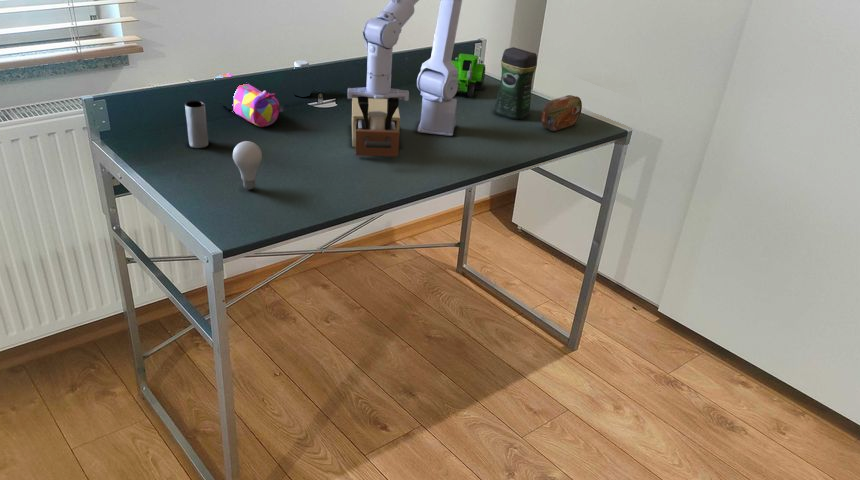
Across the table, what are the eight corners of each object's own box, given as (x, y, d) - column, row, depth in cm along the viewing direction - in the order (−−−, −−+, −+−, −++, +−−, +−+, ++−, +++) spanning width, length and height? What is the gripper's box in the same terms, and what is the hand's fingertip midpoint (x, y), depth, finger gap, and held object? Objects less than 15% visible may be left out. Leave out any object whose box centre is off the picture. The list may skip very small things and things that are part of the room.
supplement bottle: (306, 90, 215) (306, 58, 210) (314, 96, 212) (314, 63, 206) (289, 93, 213) (288, 60, 207) (297, 99, 209) (297, 65, 204)
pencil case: (286, 123, 193) (285, 90, 188) (257, 131, 187) (255, 97, 182) (237, 100, 205) (235, 68, 200) (208, 107, 199) (205, 74, 194)
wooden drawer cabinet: (398, 148, 185) (400, 117, 180) (352, 146, 183) (353, 116, 179) (394, 127, 196) (396, 98, 192) (351, 126, 195) (352, 96, 190)
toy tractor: (442, 96, 220) (445, 63, 214) (450, 79, 233) (453, 48, 228) (478, 100, 219) (482, 67, 213) (483, 84, 232) (487, 52, 227)
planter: (212, 143, 179) (208, 103, 173) (200, 149, 175) (196, 108, 170) (197, 139, 180) (193, 99, 175) (185, 145, 177) (180, 104, 171)
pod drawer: (399, 165, 174) (401, 140, 171) (355, 164, 173) (356, 139, 169) (394, 136, 188) (396, 113, 185) (354, 135, 187) (355, 112, 184)
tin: (545, 133, 200) (550, 104, 196) (537, 130, 202) (541, 100, 197) (579, 123, 209) (585, 94, 204) (571, 119, 211) (576, 91, 206)
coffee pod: (387, 130, 181) (388, 111, 178) (384, 137, 177) (385, 118, 174) (369, 128, 181) (369, 109, 178) (365, 135, 177) (366, 116, 175)
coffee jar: (533, 116, 211) (543, 51, 201) (517, 122, 206) (527, 56, 196) (506, 106, 216) (515, 43, 206) (490, 112, 211) (498, 47, 201)
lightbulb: (237, 182, 162) (233, 136, 156) (264, 183, 163) (262, 137, 157) (233, 195, 157) (229, 147, 151) (262, 195, 158) (259, 148, 152)
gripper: (348, 76, 167) (347, 132, 174) (411, 79, 168) (407, 134, 176) (347, 66, 172) (346, 121, 180) (408, 69, 174) (405, 123, 182)
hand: (376, 127), depth 178 cm, fingers closed on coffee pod, 4 cm apart
